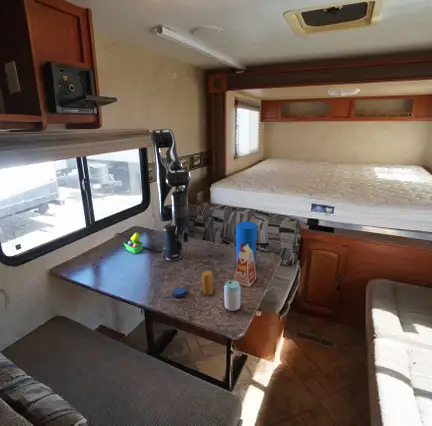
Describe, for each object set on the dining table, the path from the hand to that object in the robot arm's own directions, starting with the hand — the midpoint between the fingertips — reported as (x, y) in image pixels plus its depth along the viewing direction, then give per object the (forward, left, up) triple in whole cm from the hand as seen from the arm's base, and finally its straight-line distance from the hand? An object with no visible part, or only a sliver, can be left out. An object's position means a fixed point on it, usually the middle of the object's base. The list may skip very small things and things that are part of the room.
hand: (182, 245), depth 134 cm
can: (+27, +4, -23) cm, 36 cm away
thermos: (+10, +36, -23) cm, 44 cm away
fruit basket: (-55, +4, -23) cm, 60 cm away
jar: (+11, +5, -23) cm, 26 cm away
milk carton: (+18, +25, -23) cm, 39 cm away
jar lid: (+2, -6, -22) cm, 22 cm away
